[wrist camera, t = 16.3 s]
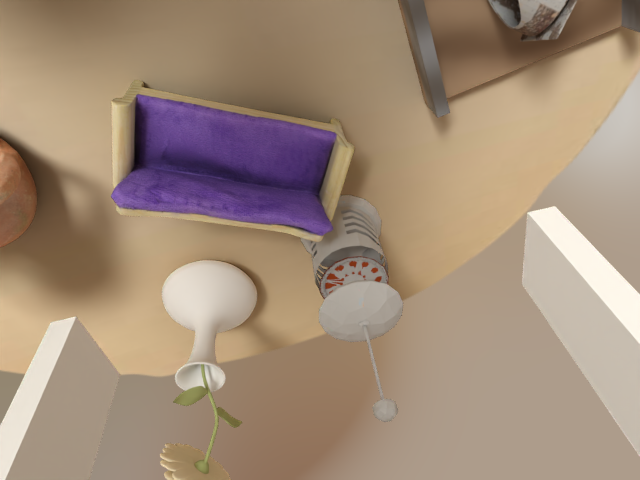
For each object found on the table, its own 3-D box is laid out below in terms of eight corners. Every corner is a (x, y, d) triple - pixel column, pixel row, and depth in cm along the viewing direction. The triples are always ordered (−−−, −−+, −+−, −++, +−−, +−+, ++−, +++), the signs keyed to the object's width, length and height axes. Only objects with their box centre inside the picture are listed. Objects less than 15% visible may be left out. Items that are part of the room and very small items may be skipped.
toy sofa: (346, 118, 47) (364, 165, 39) (325, 191, 52) (337, 246, 44) (128, 73, 43) (97, 115, 34) (126, 158, 47) (99, 213, 39)
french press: (353, 179, 51) (414, 358, 31) (403, 244, 58) (480, 429, 38) (282, 225, 54) (296, 418, 34) (337, 283, 60) (377, 475, 40)
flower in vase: (144, 274, 56) (81, 483, 36) (228, 238, 54) (210, 437, 34) (203, 338, 64) (178, 541, 44) (278, 308, 62) (288, 505, 42)
